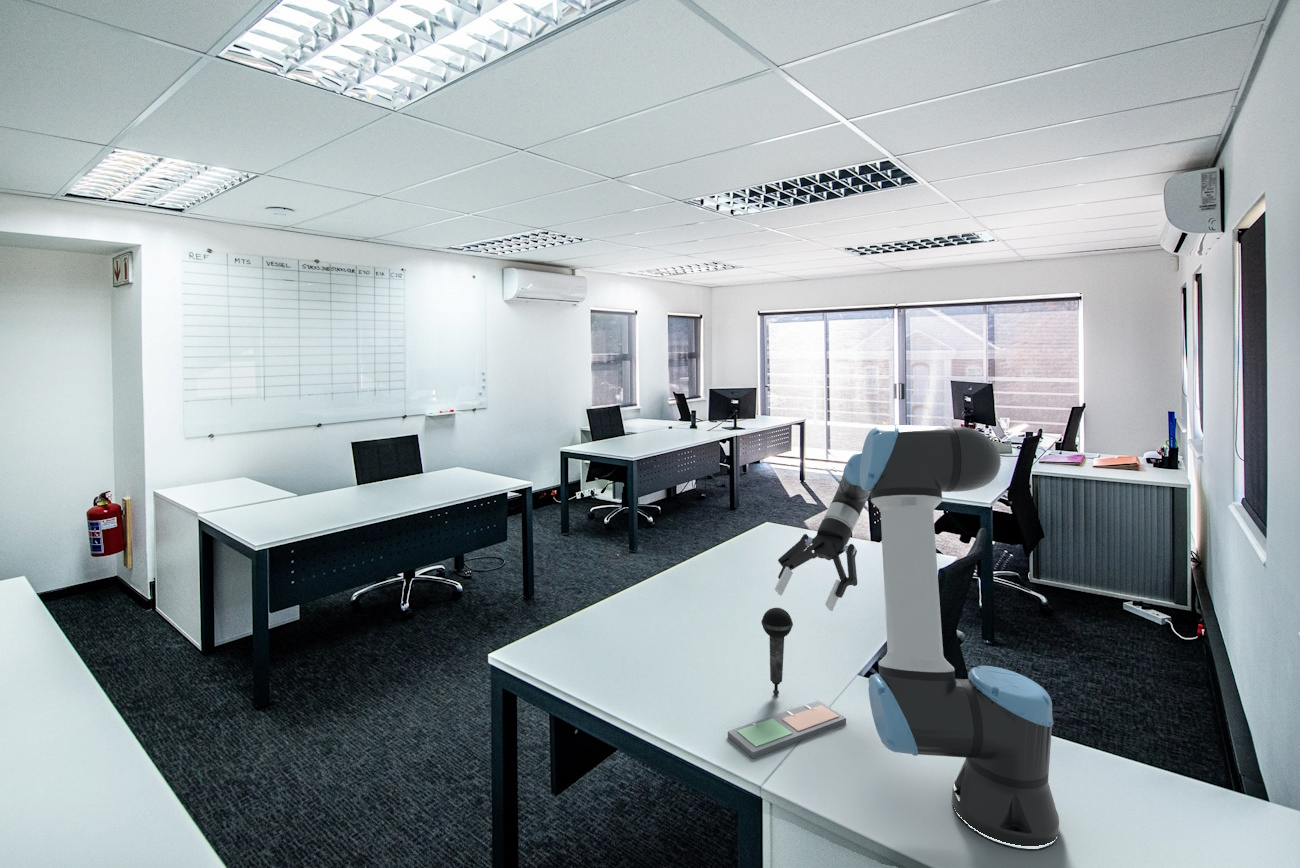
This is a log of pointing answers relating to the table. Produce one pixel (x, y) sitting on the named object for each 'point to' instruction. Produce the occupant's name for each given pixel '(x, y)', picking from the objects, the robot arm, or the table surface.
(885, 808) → the table surface
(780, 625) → the microphone
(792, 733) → the board
